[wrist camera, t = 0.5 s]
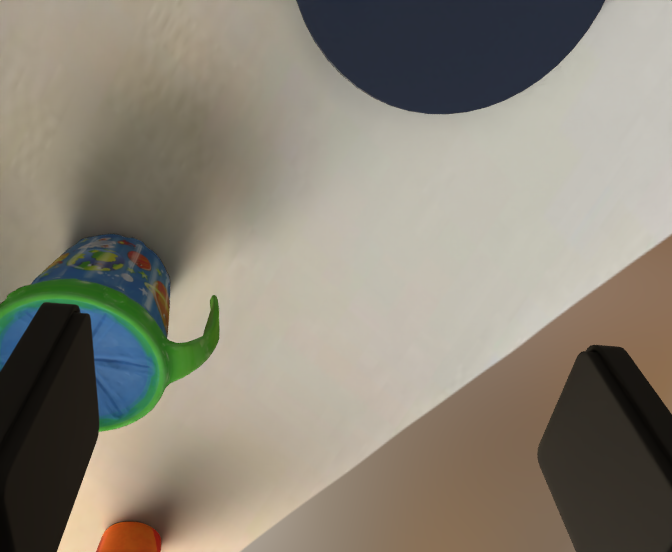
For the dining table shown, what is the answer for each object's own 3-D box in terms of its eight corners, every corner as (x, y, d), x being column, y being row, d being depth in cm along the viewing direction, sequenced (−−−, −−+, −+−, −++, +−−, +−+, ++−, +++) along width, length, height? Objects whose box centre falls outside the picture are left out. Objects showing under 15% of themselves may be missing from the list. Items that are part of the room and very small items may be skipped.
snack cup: (8, 323, 46) (-58, 422, 37) (-6, 193, 41) (-88, 275, 32) (221, 345, 48) (205, 445, 40) (234, 226, 43) (218, 310, 34)
